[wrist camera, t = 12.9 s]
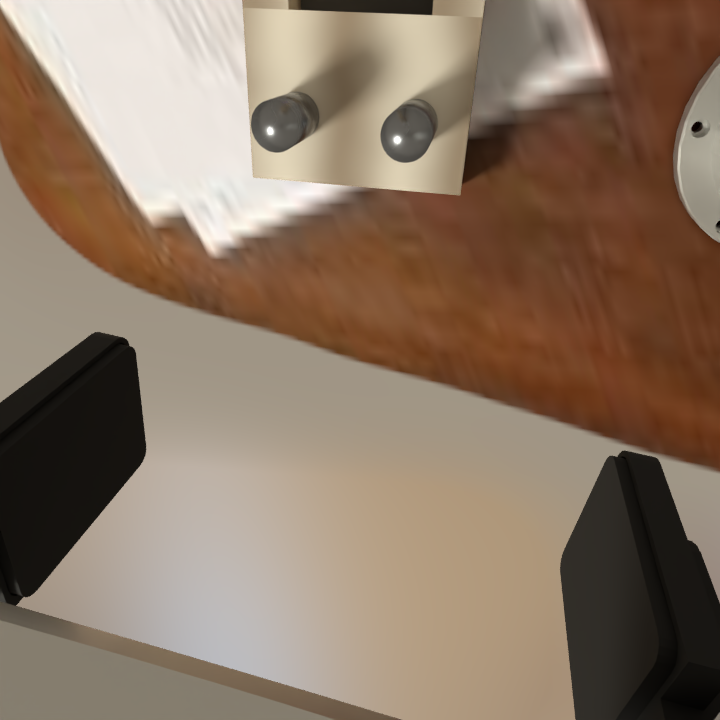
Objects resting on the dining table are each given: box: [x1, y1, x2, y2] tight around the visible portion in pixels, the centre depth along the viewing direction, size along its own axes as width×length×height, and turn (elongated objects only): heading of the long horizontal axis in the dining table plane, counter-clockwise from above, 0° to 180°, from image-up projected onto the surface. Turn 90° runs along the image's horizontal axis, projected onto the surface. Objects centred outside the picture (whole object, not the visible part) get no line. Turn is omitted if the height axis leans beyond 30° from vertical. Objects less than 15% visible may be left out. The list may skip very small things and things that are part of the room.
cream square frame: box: [242, 0, 485, 195], centre depth 27 cm, size 12×17×6 cm
